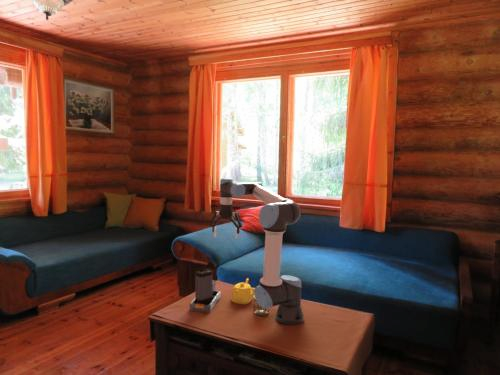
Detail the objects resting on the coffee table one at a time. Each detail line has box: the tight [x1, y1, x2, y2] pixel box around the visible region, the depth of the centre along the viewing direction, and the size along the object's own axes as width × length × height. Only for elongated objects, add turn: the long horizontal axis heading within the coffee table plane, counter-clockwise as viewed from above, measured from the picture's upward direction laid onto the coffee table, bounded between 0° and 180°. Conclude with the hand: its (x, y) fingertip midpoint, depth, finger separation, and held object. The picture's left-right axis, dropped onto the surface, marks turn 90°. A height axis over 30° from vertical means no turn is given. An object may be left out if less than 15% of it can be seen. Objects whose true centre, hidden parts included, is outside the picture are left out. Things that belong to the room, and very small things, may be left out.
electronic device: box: [194, 268, 214, 305], centre depth 211 cm, size 9×6×20 cm, turn 130°
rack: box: [189, 279, 222, 314], centre depth 215 cm, size 12×23×11 cm, turn 169°
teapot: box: [230, 277, 256, 305], centre depth 221 cm, size 22×16×11 cm
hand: (225, 238), depth 224 cm, fingers open, 13 cm apart
